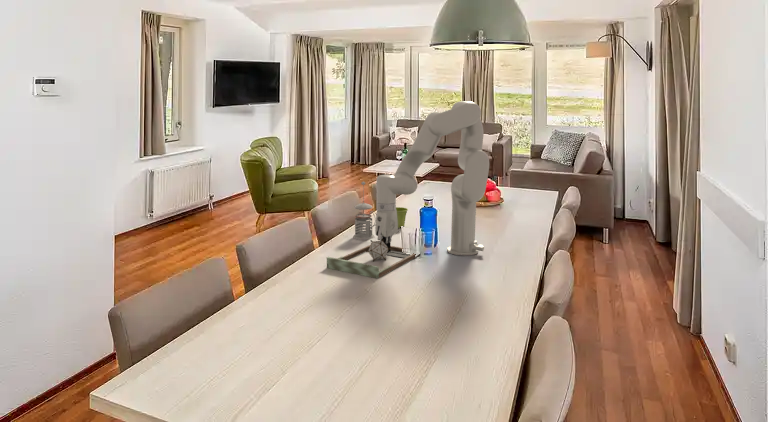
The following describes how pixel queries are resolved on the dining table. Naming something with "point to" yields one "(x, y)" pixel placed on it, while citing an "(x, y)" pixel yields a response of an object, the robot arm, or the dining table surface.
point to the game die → (378, 250)
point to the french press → (363, 221)
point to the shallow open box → (366, 269)
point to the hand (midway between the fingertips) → (385, 251)
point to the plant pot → (401, 216)
